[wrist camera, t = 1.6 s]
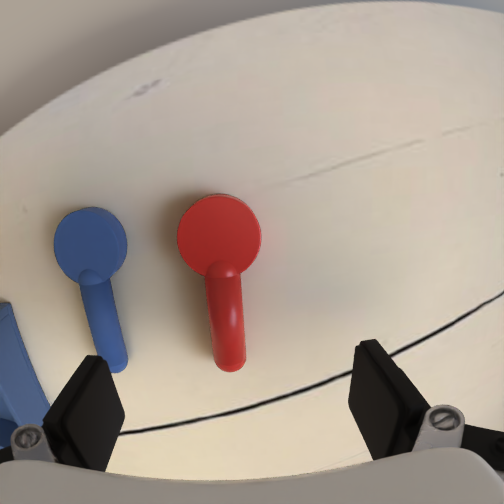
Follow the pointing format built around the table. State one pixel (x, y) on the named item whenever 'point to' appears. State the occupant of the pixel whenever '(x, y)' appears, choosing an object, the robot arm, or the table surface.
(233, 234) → the red ping pong paddle
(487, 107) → the table surface
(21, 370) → the blue bin
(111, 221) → the blue spoon
